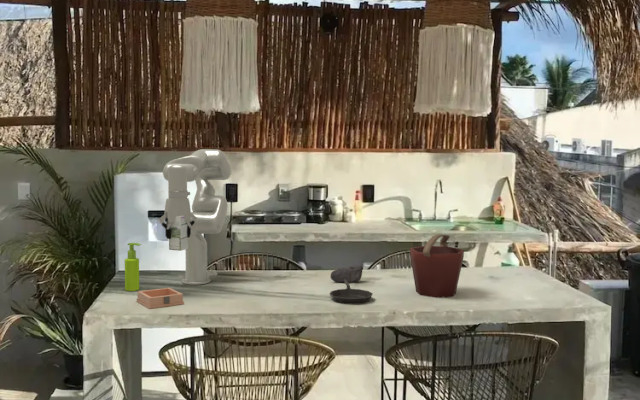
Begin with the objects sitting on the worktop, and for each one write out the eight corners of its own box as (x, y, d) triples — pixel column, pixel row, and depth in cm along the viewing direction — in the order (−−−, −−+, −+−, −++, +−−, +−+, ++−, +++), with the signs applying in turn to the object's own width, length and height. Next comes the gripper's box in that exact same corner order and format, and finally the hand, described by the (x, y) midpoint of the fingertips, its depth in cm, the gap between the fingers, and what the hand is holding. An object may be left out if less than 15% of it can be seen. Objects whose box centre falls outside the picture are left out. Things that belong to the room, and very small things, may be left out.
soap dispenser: (137, 291, 290) (137, 244, 288) (122, 290, 291) (121, 243, 289) (144, 288, 296) (143, 242, 294) (129, 287, 297) (128, 241, 295)
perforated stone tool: (330, 283, 310) (331, 268, 310) (329, 281, 315) (329, 266, 315) (363, 283, 312) (364, 268, 311) (362, 281, 317) (362, 266, 316)
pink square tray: (170, 297, 281) (170, 287, 280) (184, 304, 269) (184, 294, 269) (136, 301, 273) (136, 291, 272) (149, 308, 261) (149, 298, 261)
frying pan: (331, 305, 271) (331, 296, 270) (324, 287, 302) (324, 279, 302) (376, 305, 272) (376, 295, 272) (364, 287, 304) (364, 279, 304)
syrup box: (188, 248, 286) (187, 214, 285) (180, 251, 280) (180, 215, 279) (176, 248, 288) (175, 213, 286) (168, 250, 282) (168, 214, 281)
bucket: (433, 284, 310) (434, 229, 308) (475, 293, 294) (477, 235, 292) (398, 293, 293) (400, 234, 291) (441, 302, 277) (443, 240, 275)
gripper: (193, 193, 290) (194, 235, 292) (154, 195, 280) (154, 238, 282) (201, 195, 284) (201, 237, 286) (160, 196, 274) (161, 240, 276)
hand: (178, 237), depth 284 cm, fingers closed on syrup box, 7 cm apart
